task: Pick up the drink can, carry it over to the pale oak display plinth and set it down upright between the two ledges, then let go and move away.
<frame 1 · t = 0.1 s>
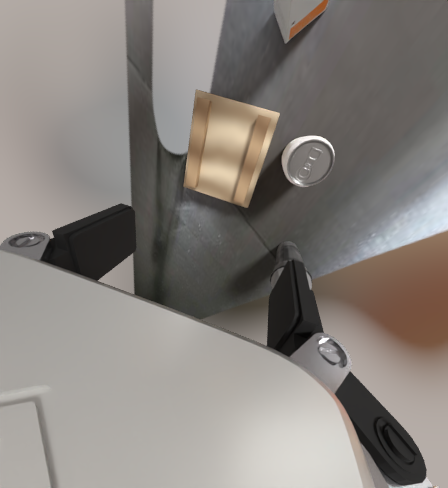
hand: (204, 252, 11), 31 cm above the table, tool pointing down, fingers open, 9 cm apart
can: (299, 157, 34), on the table
beverage cup: (287, 249, 44), on the table
skincare box: (300, 11, 26), on the table
plinth: (229, 154, 36), on the table
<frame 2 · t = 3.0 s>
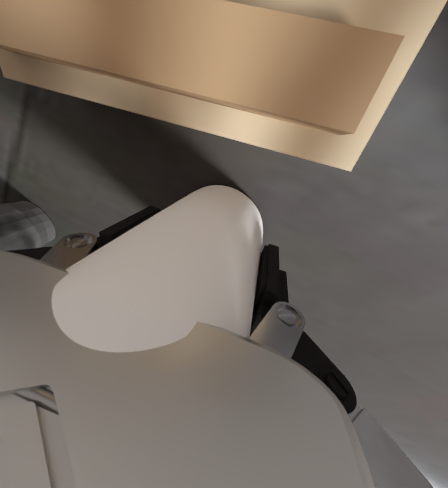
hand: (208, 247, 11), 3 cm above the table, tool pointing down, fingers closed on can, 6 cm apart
can: (221, 225, 14), on the table, touching gripper
beverage cup: (38, 221, 19), on the table
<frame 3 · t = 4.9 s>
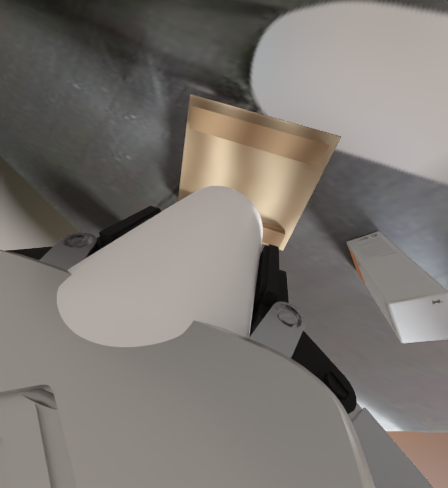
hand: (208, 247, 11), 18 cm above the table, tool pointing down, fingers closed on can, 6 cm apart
can: (221, 226, 14), point 14 cm above the table, touching gripper
skincare box: (366, 252, 27), on the table
plinth: (247, 177, 26), on the table
when the fingers open (8 cm above the table, at t = 7.2 s): can drops 1 cm, resting on plinth.
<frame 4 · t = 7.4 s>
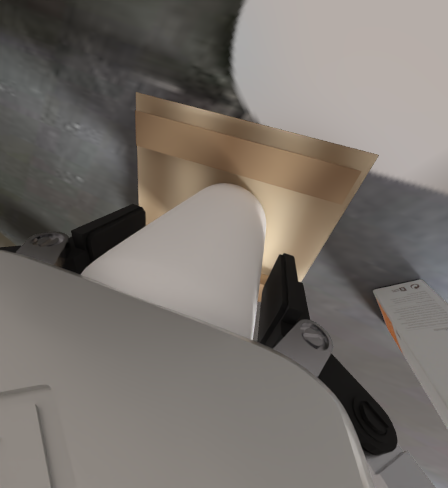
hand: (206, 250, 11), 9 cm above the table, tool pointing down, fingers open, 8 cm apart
can: (227, 220, 15), point 4 cm above the table, touching plinth
skincare box: (400, 303, 20), on the table
plinth: (234, 205, 19), on the table
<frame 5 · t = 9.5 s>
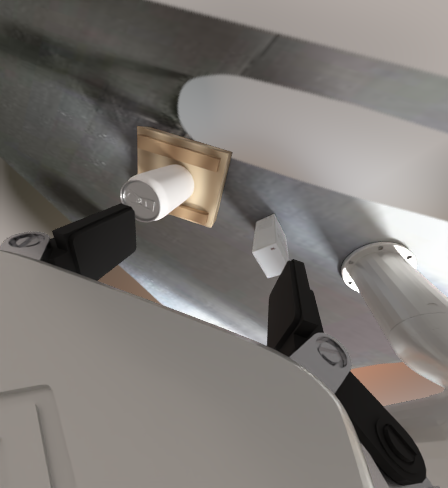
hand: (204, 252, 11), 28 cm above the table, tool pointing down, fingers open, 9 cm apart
can: (179, 182, 34), point 4 cm above the table, touching plinth
skincare box: (271, 228, 39), on the table
plinth: (185, 177, 37), on the table
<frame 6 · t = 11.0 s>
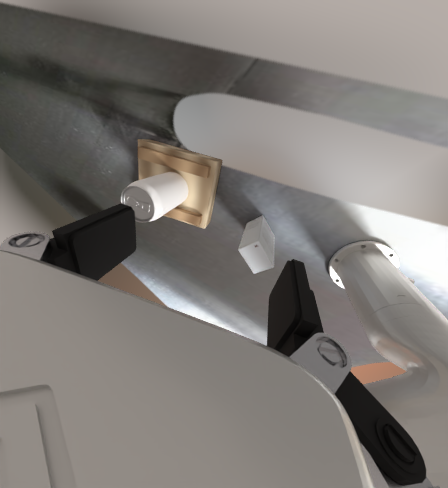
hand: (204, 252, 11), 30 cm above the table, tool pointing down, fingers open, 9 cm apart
can: (175, 187, 38), point 4 cm above the table, touching plinth
skincare box: (260, 229, 42), on the table
plinth: (182, 183, 41), on the table
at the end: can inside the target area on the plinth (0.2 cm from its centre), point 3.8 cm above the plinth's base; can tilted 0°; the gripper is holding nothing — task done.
